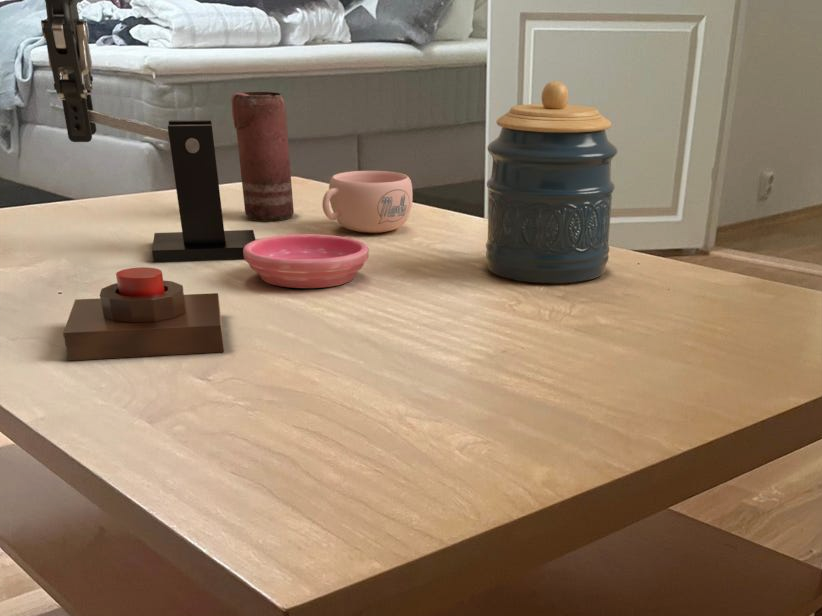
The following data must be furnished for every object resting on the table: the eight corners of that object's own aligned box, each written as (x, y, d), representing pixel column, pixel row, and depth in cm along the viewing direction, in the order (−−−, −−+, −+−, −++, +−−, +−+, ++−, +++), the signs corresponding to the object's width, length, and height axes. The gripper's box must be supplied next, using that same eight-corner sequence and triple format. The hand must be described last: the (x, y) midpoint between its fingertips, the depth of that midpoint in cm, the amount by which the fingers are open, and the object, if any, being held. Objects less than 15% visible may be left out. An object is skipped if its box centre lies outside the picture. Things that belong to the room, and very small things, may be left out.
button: (118, 301, 81) (114, 278, 80) (120, 289, 84) (117, 268, 83) (164, 299, 81) (161, 277, 80) (165, 287, 84) (162, 266, 83)
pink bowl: (323, 257, 110) (321, 227, 108) (394, 280, 102) (393, 247, 100) (223, 275, 102) (219, 243, 101) (290, 301, 95) (287, 266, 93)
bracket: (153, 262, 107) (132, 128, 100) (156, 244, 114) (136, 118, 107) (258, 258, 109) (245, 127, 102) (254, 240, 116) (241, 117, 109)
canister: (576, 253, 114) (588, 75, 104) (629, 280, 103) (647, 86, 94) (468, 260, 110) (470, 76, 100) (511, 289, 99) (518, 88, 90)
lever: (69, 127, 100) (71, 101, 99) (74, 121, 104) (76, 96, 103) (204, 161, 105) (207, 136, 103) (204, 154, 109) (207, 130, 107)
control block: (68, 360, 79) (57, 309, 77) (80, 325, 87) (70, 277, 85) (224, 352, 82) (217, 302, 79) (221, 318, 90) (215, 271, 88)
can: (237, 214, 129) (224, 91, 121) (285, 210, 131) (275, 89, 124) (251, 223, 124) (238, 96, 117) (300, 219, 127) (290, 94, 119)
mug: (380, 218, 128) (378, 167, 125) (429, 230, 122) (429, 178, 119) (301, 230, 122) (297, 177, 118) (349, 244, 115) (346, 188, 112)
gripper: (18, -62, 99) (52, 129, 108) (-5, -68, 87) (35, 147, 96) (98, -59, 101) (125, 129, 110) (86, -64, 89) (117, 147, 98)
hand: (83, 137), depth 103 cm, fingers closed on lever, 5 cm apart
